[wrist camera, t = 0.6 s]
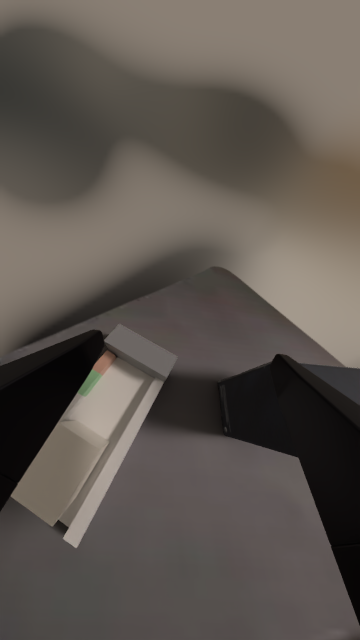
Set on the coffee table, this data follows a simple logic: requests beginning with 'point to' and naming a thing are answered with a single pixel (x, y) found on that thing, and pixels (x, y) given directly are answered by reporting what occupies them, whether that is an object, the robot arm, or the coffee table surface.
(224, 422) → the small box
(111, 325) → the coffee table surface
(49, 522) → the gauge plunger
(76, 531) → the base
